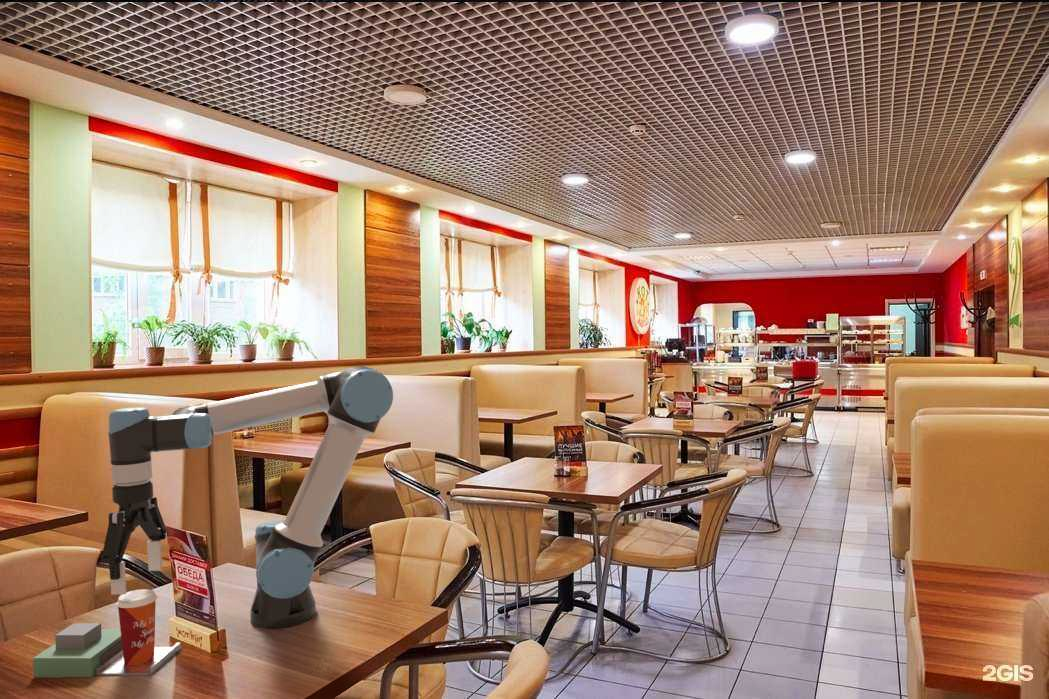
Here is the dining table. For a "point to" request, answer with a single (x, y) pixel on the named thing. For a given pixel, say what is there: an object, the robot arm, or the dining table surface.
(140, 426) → the robot arm
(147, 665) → the plate
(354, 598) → the dining table surface
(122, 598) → the paper cup
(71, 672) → the stepped green box
